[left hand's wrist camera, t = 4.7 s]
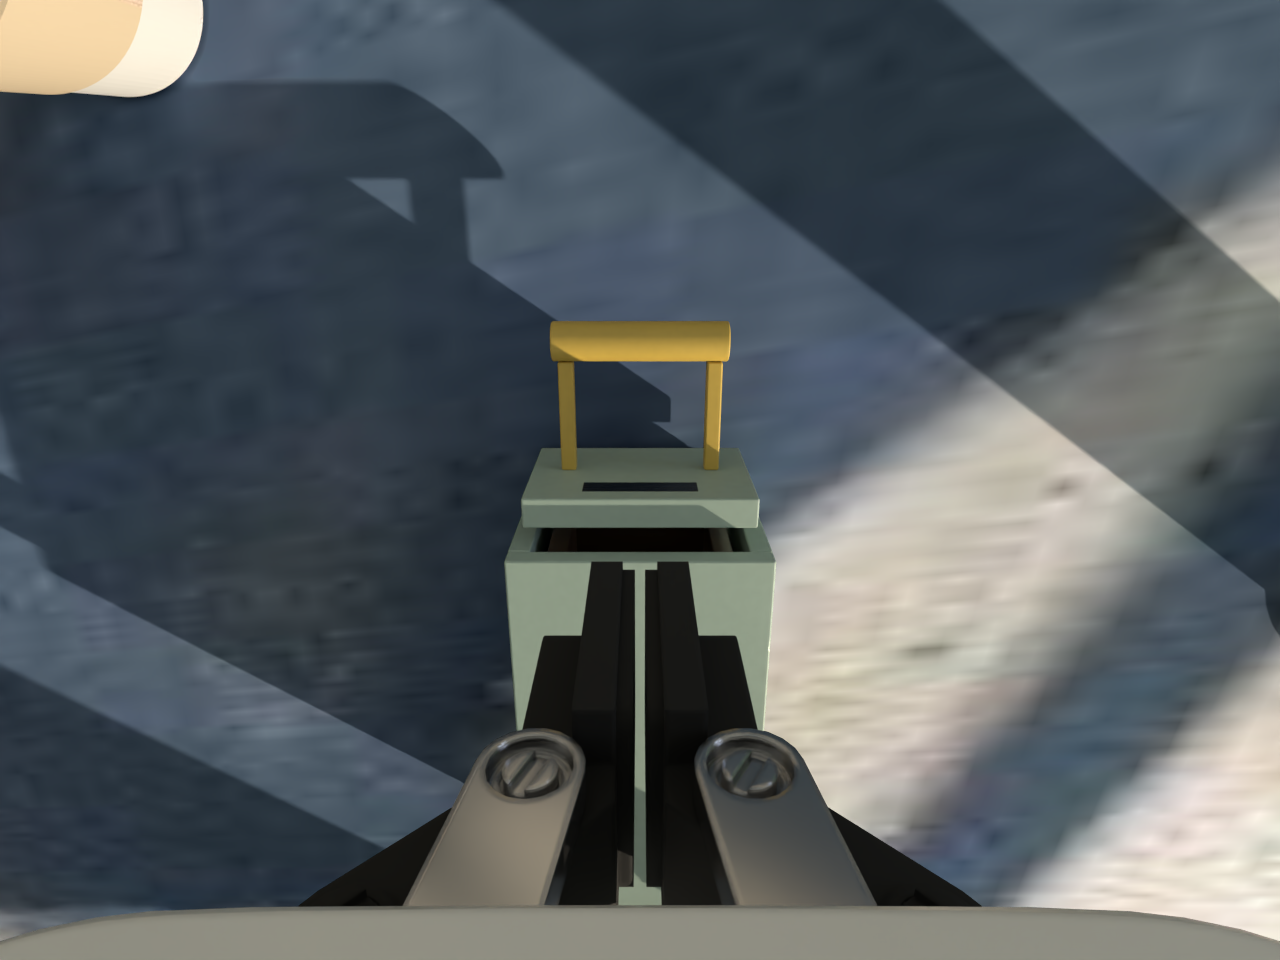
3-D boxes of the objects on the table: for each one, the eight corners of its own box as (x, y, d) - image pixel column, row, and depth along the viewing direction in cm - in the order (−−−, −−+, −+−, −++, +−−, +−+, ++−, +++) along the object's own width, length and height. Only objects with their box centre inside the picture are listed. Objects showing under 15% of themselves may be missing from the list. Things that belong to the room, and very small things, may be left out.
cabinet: (533, 484, 34) (503, 561, 27) (747, 484, 34) (776, 561, 27) (552, 829, 42) (533, 965, 34) (727, 829, 42) (747, 965, 34)
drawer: (534, 311, 30) (510, 336, 25) (745, 311, 30) (769, 336, 25) (558, 797, 40) (545, 896, 34) (721, 797, 40) (735, 896, 34)
